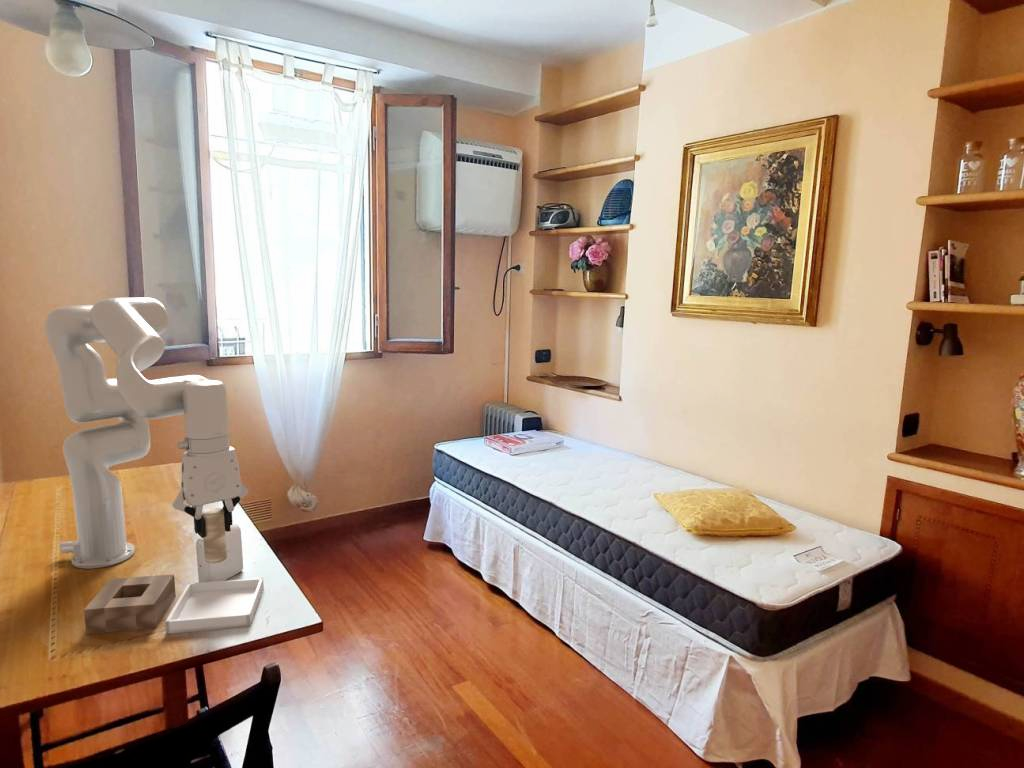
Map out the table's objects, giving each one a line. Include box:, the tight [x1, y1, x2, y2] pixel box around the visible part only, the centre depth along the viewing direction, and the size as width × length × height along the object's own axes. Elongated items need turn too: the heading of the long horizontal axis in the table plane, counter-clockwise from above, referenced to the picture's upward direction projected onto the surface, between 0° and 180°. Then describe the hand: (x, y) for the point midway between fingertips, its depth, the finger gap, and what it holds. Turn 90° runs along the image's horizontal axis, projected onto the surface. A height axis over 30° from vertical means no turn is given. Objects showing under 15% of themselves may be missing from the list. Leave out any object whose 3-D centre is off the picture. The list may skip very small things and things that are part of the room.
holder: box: [83, 574, 177, 635], centre depth 123 cm, size 12×12×5 cm
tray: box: [164, 577, 265, 635], centre depth 125 cm, size 15×15×2 cm
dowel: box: [202, 507, 227, 563], centre depth 123 cm, size 4×4×10 cm
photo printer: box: [195, 522, 244, 583], centre depth 137 cm, size 10×4×12 cm, turn 158°
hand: (214, 531), depth 122 cm, fingers closed on dowel, 4 cm apart
